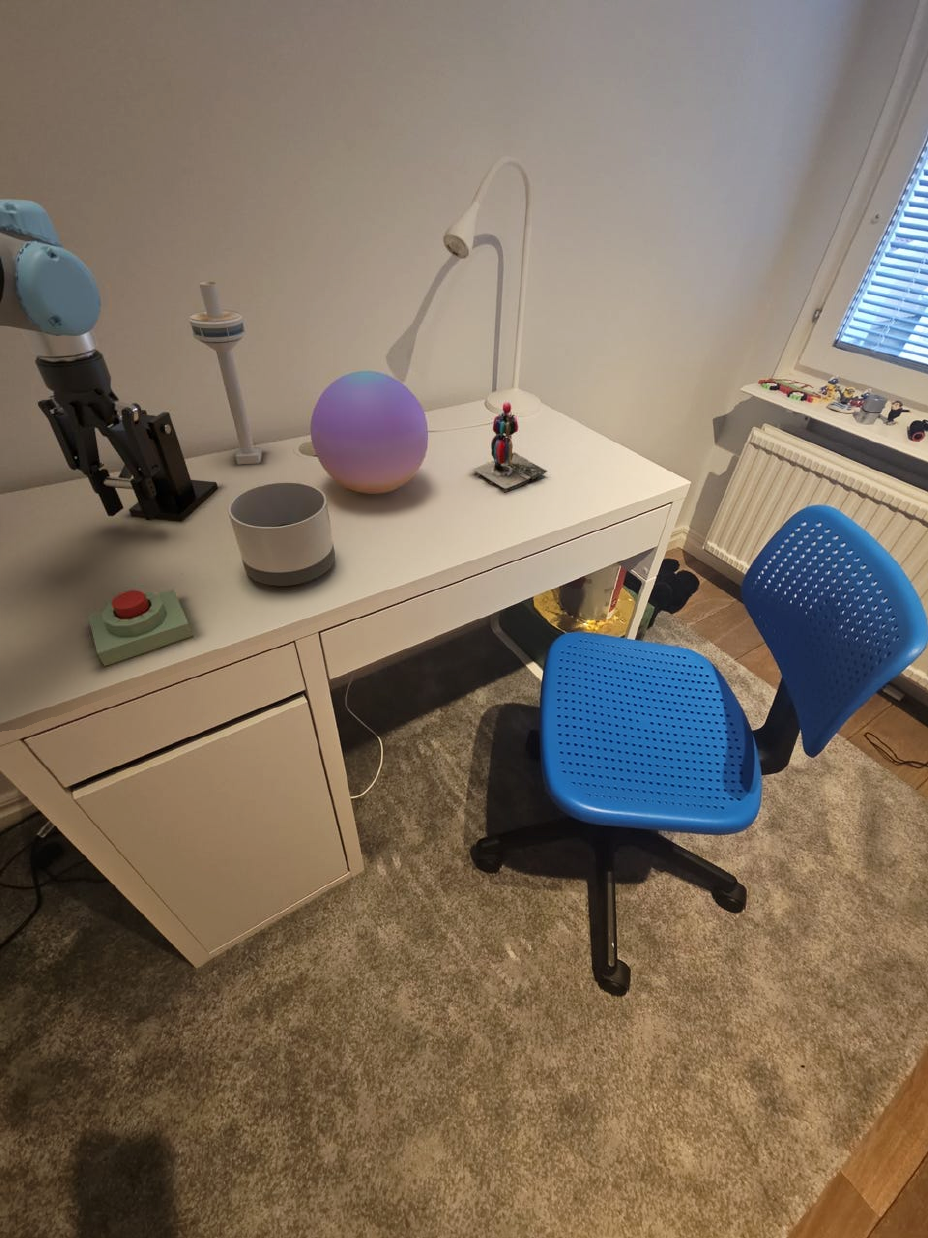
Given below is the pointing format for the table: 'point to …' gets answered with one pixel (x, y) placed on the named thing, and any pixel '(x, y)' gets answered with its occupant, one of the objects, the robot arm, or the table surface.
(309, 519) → the planter
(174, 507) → the bracket
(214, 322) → the model tower
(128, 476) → the lever
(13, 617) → the table surface
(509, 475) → the statue
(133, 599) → the button
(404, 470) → the ball
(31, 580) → the table surface
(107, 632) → the button base
